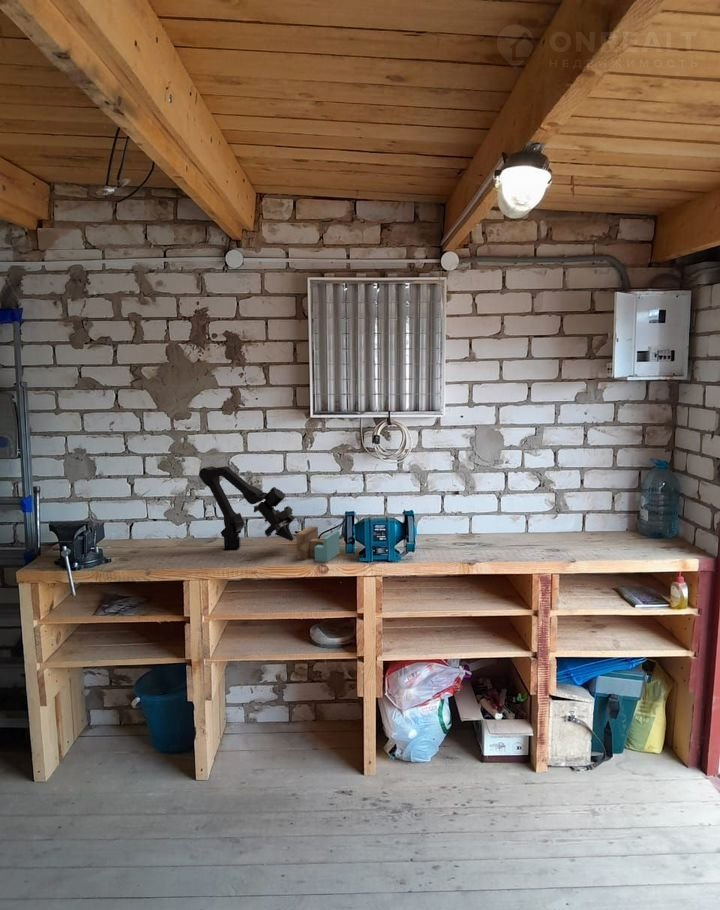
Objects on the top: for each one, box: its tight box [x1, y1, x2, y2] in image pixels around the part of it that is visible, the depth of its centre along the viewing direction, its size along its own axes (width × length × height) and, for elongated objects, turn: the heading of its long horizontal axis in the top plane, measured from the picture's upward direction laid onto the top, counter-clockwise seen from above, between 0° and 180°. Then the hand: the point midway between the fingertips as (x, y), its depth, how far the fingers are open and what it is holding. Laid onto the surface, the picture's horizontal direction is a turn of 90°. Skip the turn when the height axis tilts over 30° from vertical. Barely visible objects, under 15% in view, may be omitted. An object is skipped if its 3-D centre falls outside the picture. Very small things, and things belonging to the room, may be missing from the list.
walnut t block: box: [296, 525, 323, 561], centre depth 271 cm, size 12×13×11 cm
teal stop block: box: [314, 529, 341, 563], centre depth 269 cm, size 6×14×10 cm, turn 160°
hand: (292, 540), depth 275 cm, fingers closed
